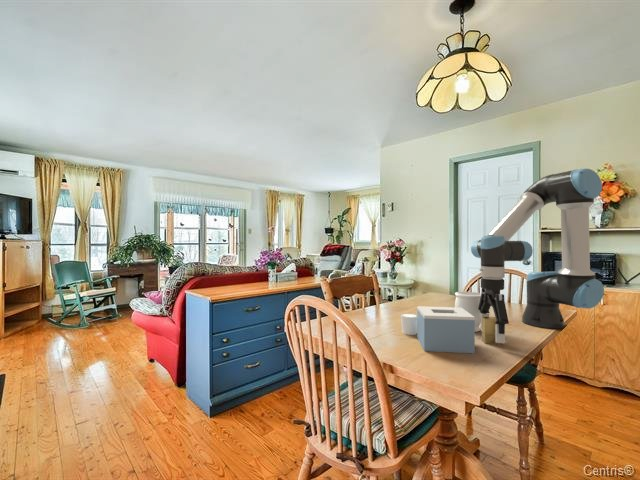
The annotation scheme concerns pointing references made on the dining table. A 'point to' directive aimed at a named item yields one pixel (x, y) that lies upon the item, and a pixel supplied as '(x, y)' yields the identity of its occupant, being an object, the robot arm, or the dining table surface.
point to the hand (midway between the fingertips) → (492, 336)
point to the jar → (470, 305)
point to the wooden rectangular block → (489, 330)
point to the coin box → (446, 329)
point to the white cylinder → (409, 324)
